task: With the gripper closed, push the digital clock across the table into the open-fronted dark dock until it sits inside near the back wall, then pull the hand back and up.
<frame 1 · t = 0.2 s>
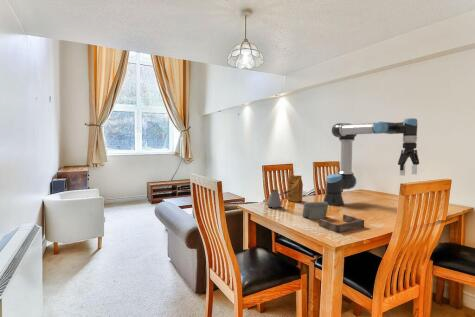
hand: (408, 174, 168), 28 cm above the table, tool pointing down, fingers open, 13 cm apart
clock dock: (340, 226, 150), on the table
digital clock: (315, 217, 168), on the table
coffee package: (294, 201, 217), on the table
coffee pot: (279, 208, 191), on the table
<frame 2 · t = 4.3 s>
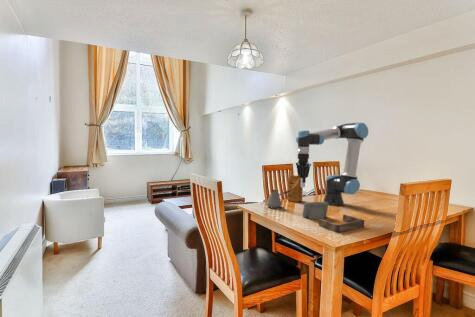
hand: (302, 187, 177), 18 cm above the table, tool pointing down, fingers closed
nothing on the table moved.
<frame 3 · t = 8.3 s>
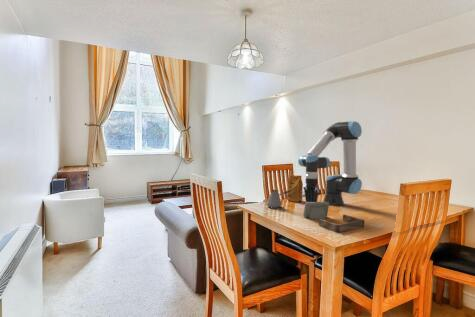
hand: (310, 213, 171), 2 cm above the table, tool pointing down, fingers closed
digital clock: (316, 217, 168), on the table, touching gripper
everything else where it was.
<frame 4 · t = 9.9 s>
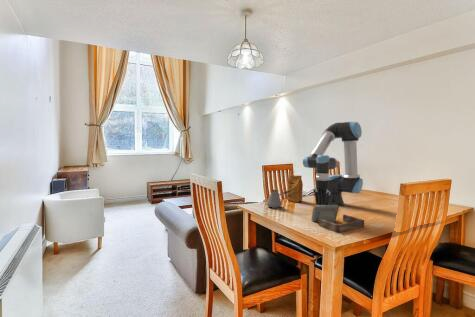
hand: (321, 216, 163), 2 cm above the table, tool pointing down, fingers closed
digital clock: (324, 221, 159), on the table, touching gripper
everything else where it was.
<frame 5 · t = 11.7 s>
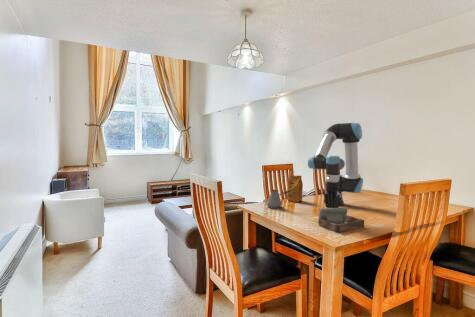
hand: (331, 219, 156), 2 cm above the table, tool pointing down, fingers closed
digital clock: (332, 225, 152), on the table, touching gripper
everything else where it was.
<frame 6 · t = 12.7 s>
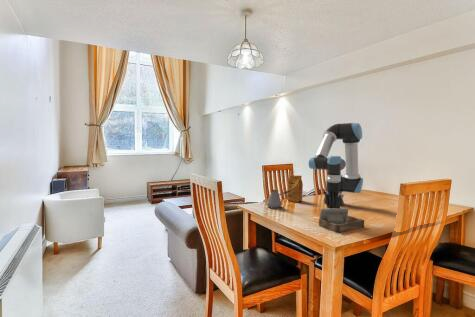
hand: (332, 220, 155), 2 cm above the table, tool pointing down, fingers closed
digital clock: (333, 226, 151), on the table
everything else where it was.
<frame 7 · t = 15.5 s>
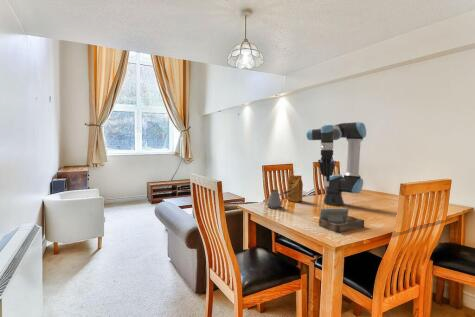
hand: (326, 186, 165), 21 cm above the table, tool pointing down, fingers closed
nothing on the table moved.
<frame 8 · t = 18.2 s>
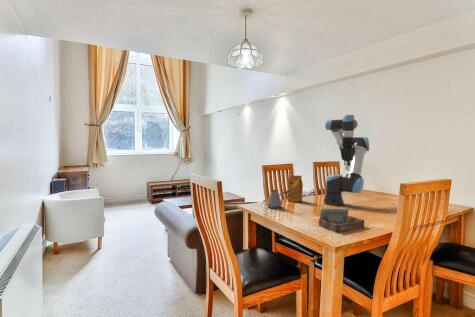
hand: (347, 170, 183), 29 cm above the table, tool pointing down, fingers closed
nothing on the table moved.
at the end: digital clock inside the target area on the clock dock (3.3 cm from its centre), point 0.0 cm above the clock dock's base; digital clock tilted 0°; digital clock moved 17.6 cm from its start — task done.
